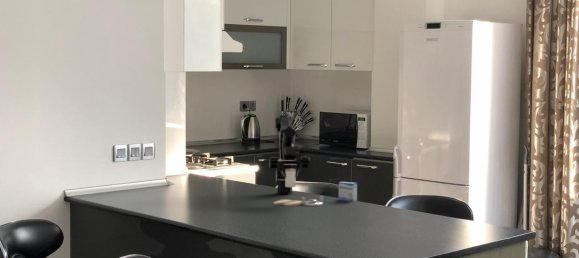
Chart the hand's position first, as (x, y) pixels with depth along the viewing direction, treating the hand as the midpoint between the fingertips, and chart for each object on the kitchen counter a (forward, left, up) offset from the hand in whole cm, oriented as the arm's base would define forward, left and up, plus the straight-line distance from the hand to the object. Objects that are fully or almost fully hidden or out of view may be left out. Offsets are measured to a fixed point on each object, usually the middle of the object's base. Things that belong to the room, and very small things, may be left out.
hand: (290, 177), depth 371 cm
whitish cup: (-1, +1, -5) cm, 5 cm away
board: (-2, +2, -13) cm, 13 cm away
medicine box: (+19, +24, -13) cm, 33 cm away
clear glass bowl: (+8, +6, -13) cm, 16 cm away
